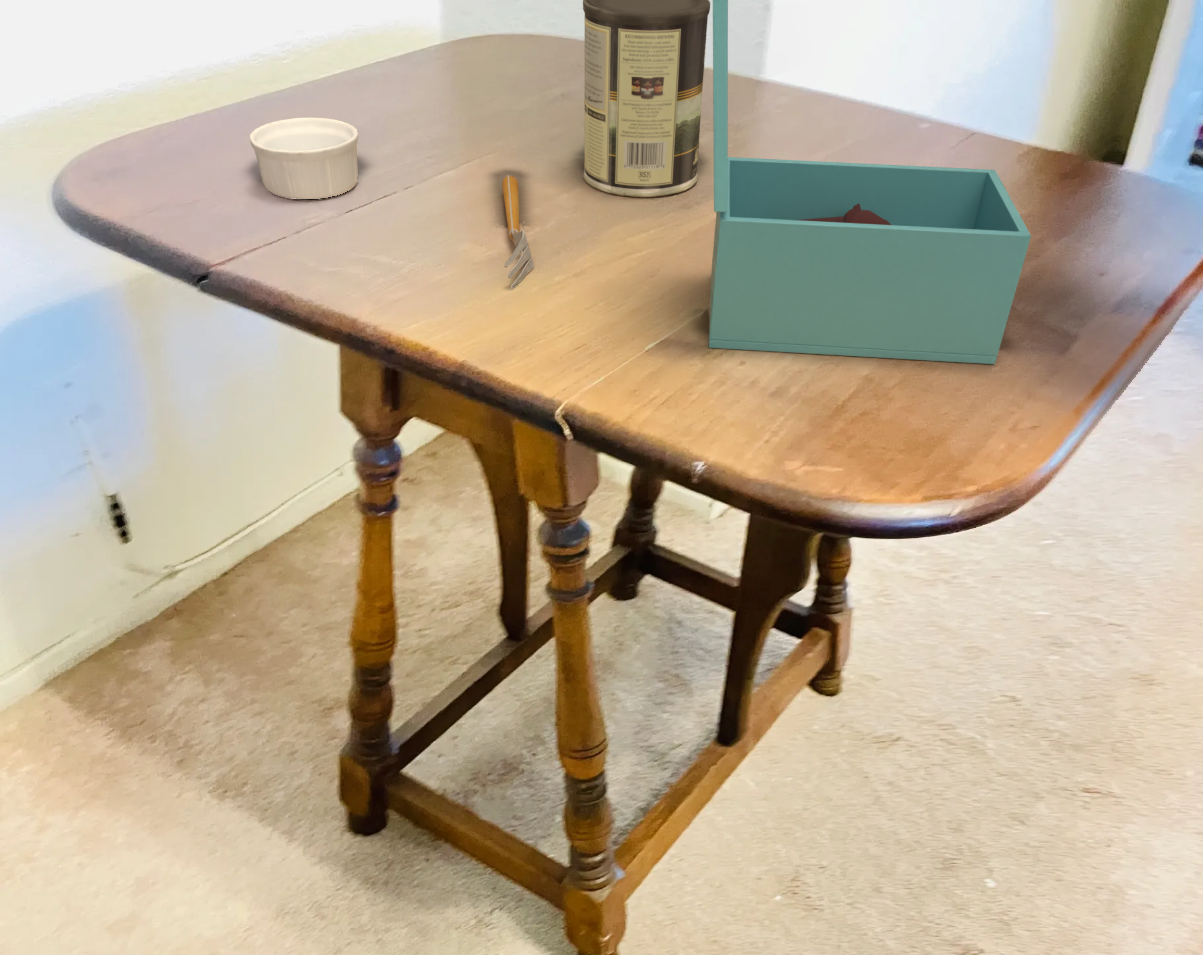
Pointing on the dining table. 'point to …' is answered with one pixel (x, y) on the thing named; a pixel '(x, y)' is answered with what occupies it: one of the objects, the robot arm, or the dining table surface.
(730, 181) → the box
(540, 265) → the dining table surface
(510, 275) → the fork
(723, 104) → the lid
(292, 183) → the ramekin
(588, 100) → the coffee can
